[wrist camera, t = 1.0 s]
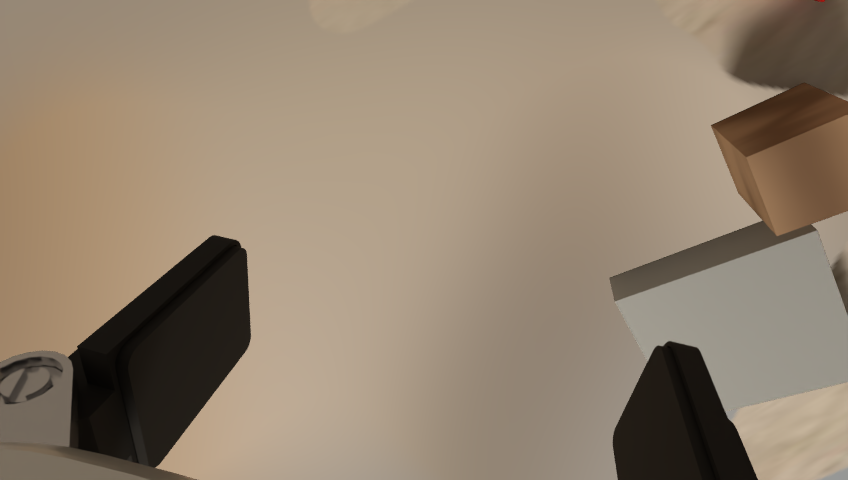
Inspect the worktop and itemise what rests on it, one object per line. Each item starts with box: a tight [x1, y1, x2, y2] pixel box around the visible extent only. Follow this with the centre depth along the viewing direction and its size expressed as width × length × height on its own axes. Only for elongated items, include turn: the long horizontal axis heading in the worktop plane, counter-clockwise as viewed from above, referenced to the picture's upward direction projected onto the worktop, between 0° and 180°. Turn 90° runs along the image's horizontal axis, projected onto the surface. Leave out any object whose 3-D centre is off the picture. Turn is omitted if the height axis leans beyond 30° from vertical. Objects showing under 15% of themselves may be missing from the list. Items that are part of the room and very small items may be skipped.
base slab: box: [610, 221, 848, 412], centre depth 35 cm, size 12×12×3 cm
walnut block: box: [711, 83, 848, 236], centre depth 28 cm, size 5×5×6 cm
